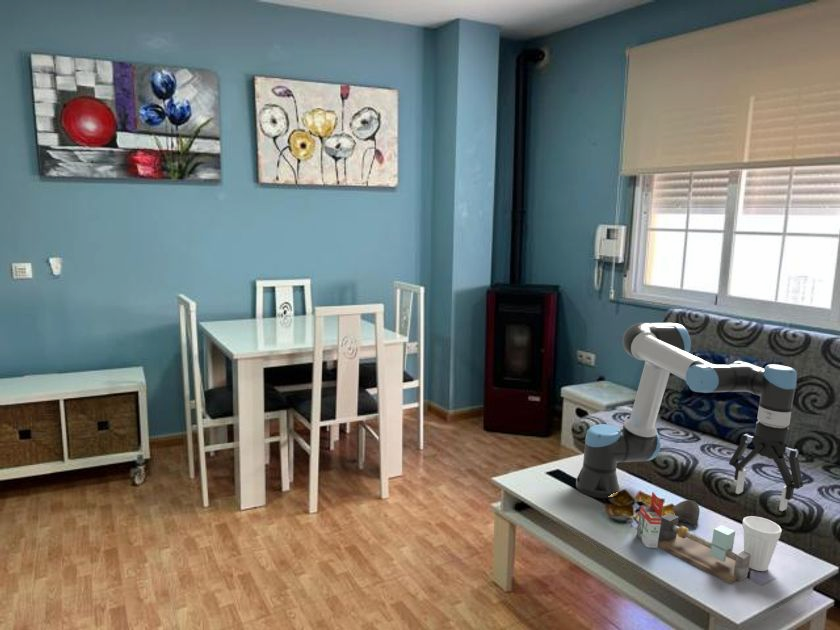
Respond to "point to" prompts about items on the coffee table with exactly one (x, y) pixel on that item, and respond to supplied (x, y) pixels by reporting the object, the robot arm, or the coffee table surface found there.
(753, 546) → the cup
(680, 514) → the stone
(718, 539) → the sleeve
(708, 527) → the coffee table surface
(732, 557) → the wooden slider rod stand
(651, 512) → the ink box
